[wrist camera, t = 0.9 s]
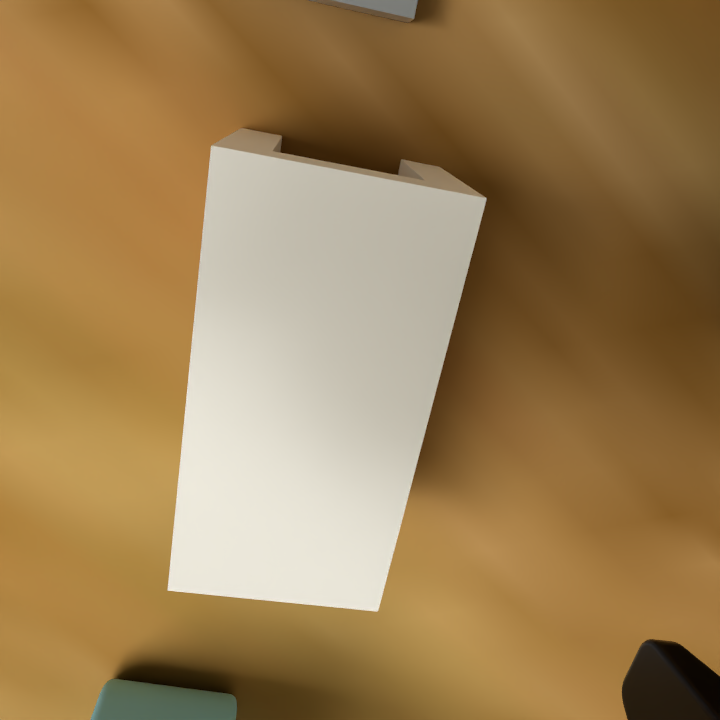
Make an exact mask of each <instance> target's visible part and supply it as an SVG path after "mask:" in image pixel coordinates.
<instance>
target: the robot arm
mask: <svg viewBox="0 0 720 720" xmlns="http://www.w3.org/2000/svg"><path fill="white" fill-rule="evenodd" d="M622 699H623V704H624V708H625V712H626V715H627V719H628V720H720V676H719V675H717V674H716V673H715V672H714V671H712V670H711V669H710V668H709V667H707V666H706V665H705V664H704V663H703V662H701V661H700V660H699V659H698V658H696V657H695V656H694V655H693V654H691V653H690V652H689V651H688V650H687V649H685V648H684V647H683V646H681V645H680V644H678V643H676V642H672V641H663V640H654V639H650V640H646V641H645V642H644V643H642V645H641V646H640V648H639V650H638V652H637V654H636V656H635V658H634V660H633V662H632V664H631V666H630V668H629V671H628V673H627V675H626V677H625V679H624V681H623V686H622Z"/></svg>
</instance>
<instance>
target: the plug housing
mask: <svg viewBox="0 0 720 720" xmlns="http://www.w3.org/2000/svg"><path fill="white" fill-rule="evenodd" d="M281 143H282V136H280V135H275V134H270V133H265V132H260V131H255V130H250V129H245V128H240V129H239V130H237V131H235V132H234V133H232V134H230V135H228V136H227V137H225V138H223V139H222V140H220V141H218V142H216V143H215V144H213V145H211V153H210V164H209V174H208V184H207V194H206V204H205V215H204V225H203V235H202V245H201V255H200V266H199V276H198V286H197V296H196V306H195V317H194V327H193V337H192V347H191V358H190V368H189V378H188V388H187V398H186V409H185V419H184V429H183V439H182V449H181V460H180V470H179V480H178V490H177V500H176V511H175V521H174V531H173V541H172V551H171V562H170V572H169V582H168V591H178V592H188V593H198V594H208V595H218V596H228V597H238V598H248V599H258V600H268V601H278V602H288V603H298V604H308V605H318V606H328V607H338V608H348V609H358V610H368V611H378V609H379V606H380V602H381V598H382V594H383V590H384V587H385V583H386V579H387V575H388V571H389V568H390V564H391V560H392V556H393V552H394V549H395V545H396V541H397V537H398V533H399V530H400V526H401V522H402V518H403V514H404V511H405V507H406V503H407V499H408V495H409V492H410V488H411V484H412V480H413V476H414V473H415V469H416V465H417V461H418V457H419V454H420V450H421V446H422V442H423V439H424V435H425V431H426V427H427V423H428V420H429V416H430V412H431V408H432V404H433V401H434V397H435V393H436V389H437V385H438V382H439V378H440V374H441V370H442V366H443V363H444V359H445V355H446V351H447V347H448V344H449V340H450V336H451V332H452V328H453V325H454V321H455V317H456V313H457V309H458V306H459V302H460V298H461V294H462V290H463V287H464V283H465V279H466V275H467V272H468V268H469V264H470V260H471V256H472V253H473V249H474V245H475V241H476V237H477V234H478V230H479V226H480V222H481V218H482V215H483V211H484V207H485V203H486V199H487V198H486V197H484V196H483V195H481V194H480V193H478V192H477V191H475V190H474V189H472V188H471V187H469V186H468V185H466V184H465V183H463V182H462V181H460V180H459V179H457V178H456V177H454V176H453V175H451V174H450V173H448V172H447V171H445V170H444V169H442V168H441V167H438V166H433V165H428V164H423V163H418V162H413V161H408V160H403V159H401V162H400V167H399V172H398V175H394V174H389V173H384V172H378V171H373V170H368V169H363V168H358V167H353V166H347V165H342V164H337V163H332V162H327V161H321V160H316V159H311V158H306V157H301V156H295V155H290V154H285V153H280V150H281Z"/></svg>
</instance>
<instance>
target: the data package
mask: <svg viewBox="0 0 720 720" xmlns="http://www.w3.org/2000/svg"><path fill="white" fill-rule="evenodd" d="M236 713H237V701H236V698H235V697H234V696H233V695H232V694H227V693H219V692H211V691H204V690H196V689H189V688H181V687H173V686H166V685H158V684H151V683H143V682H135V681H128V680H120V679H111V680H109V681H108V682H107V683H106V684H105V685H104V687H103V689H102V691H101V693H100V695H99V698H98V700H97V703H96V706H95V709H94V712H93V714H92V717H91V720H236Z"/></svg>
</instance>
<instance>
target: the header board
mask: <svg viewBox="0 0 720 720" xmlns="http://www.w3.org/2000/svg"><path fill="white" fill-rule="evenodd" d="M309 1H313V2H318V3H322V4H326V5H331V6H335V7H340V8H344V9H349V10H353V11H357V12H362V13H366V14H371V15H375V16H380V17H384V18H388V19H393V20H397V21H402V22H406V23H409V22H410V21H412V20H413V19H414V17H415V12H416V7H417V2H418V0H309Z"/></svg>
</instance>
